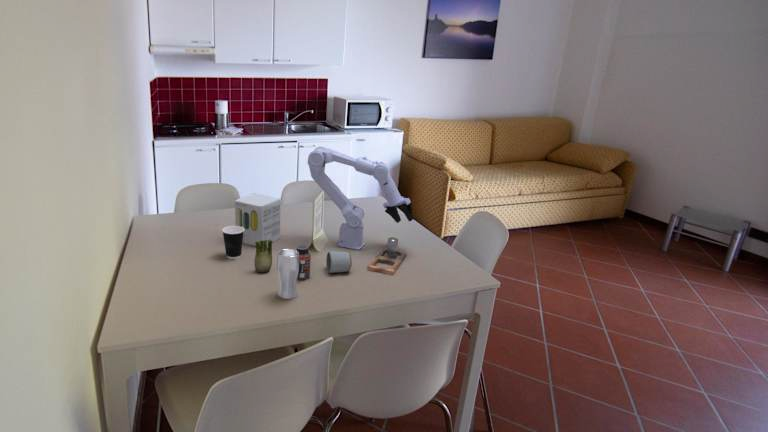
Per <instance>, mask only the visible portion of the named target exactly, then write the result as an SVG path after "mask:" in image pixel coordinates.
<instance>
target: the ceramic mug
mask: <svg viewBox="0 0 768 432" xmlns="http://www.w3.org/2000/svg"><path fill="white" fill-rule="evenodd" d="M325 262H326V264H325V265H326V271H327V273H329V274H331V273H346V272H350V270H351V269H352V265H353V264H352V263H353V259H352V254H351V253H350V252H346V251H328V252H327V253H326V261H325Z"/></svg>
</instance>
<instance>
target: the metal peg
mask: <svg viewBox="0 0 768 432" xmlns="http://www.w3.org/2000/svg"><path fill="white" fill-rule="evenodd" d="M398 244H399V238H396V237H388V238H387V246H386V248H387V253H386V256H385V257H388V258H394V259H398V258H397V251H398V246H399V245H398Z"/></svg>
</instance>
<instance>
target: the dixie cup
mask: <svg viewBox="0 0 768 432" xmlns="http://www.w3.org/2000/svg"><path fill="white" fill-rule="evenodd" d="M221 232H222V235H223V242H224V249H225V256H226V258H227V259H228V258H229V259H228V260H238V259H240V258H241V256H242V251H243V243H242V242H243V232H244V228H243V227H240V226H236V225H228V226H224V227H223V228H222V229H221Z"/></svg>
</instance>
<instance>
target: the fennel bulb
mask: <svg viewBox="0 0 768 432" xmlns="http://www.w3.org/2000/svg"><path fill="white" fill-rule="evenodd" d="M255 244H256V246H255V256H254V265H253V266H254V269H255V270H256V271H257V272H259V273H268V272H270V271H271V268H272V265H273V248H272V247H273V242H272V240H268V245H267V240H260V243H259V241H256V242H255Z"/></svg>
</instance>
